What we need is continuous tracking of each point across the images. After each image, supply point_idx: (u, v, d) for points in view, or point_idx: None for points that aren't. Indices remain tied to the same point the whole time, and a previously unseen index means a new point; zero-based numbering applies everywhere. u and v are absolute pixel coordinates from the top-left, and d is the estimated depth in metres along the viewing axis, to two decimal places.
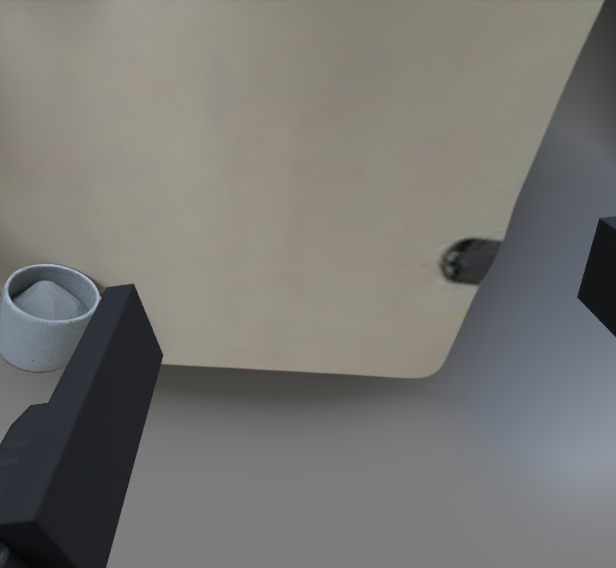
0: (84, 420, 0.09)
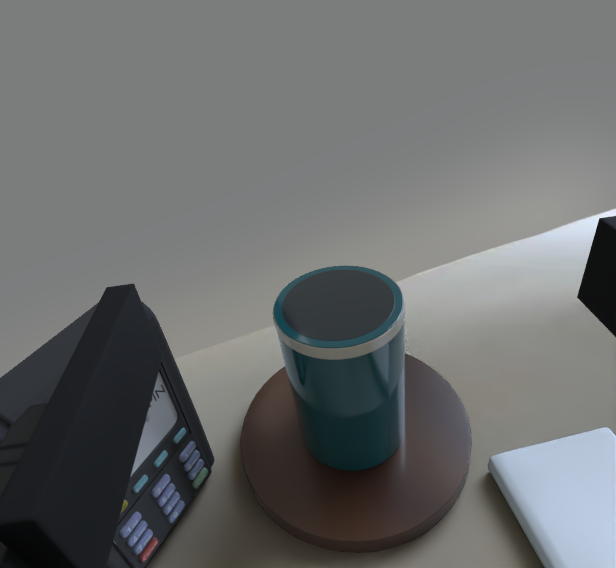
0: (84, 420, 0.09)
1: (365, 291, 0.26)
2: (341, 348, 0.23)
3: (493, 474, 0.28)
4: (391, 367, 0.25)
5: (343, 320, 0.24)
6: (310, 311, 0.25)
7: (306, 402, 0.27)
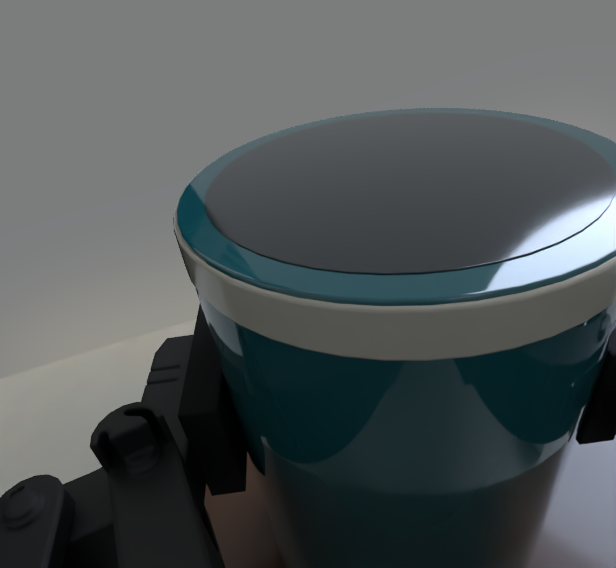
0: None
1: (481, 143, 0.08)
2: (445, 308, 0.05)
3: None
4: (588, 394, 0.07)
5: (427, 212, 0.06)
6: (300, 194, 0.07)
7: (282, 495, 0.08)
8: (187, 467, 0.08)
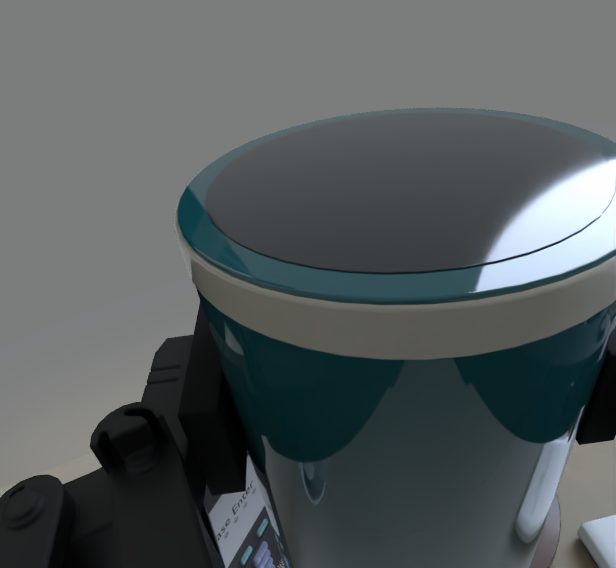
0: None
1: (481, 143, 0.08)
2: (446, 307, 0.05)
3: (585, 542, 0.28)
4: (588, 393, 0.07)
5: (427, 211, 0.06)
6: (300, 192, 0.07)
7: (283, 494, 0.08)
8: (187, 467, 0.08)
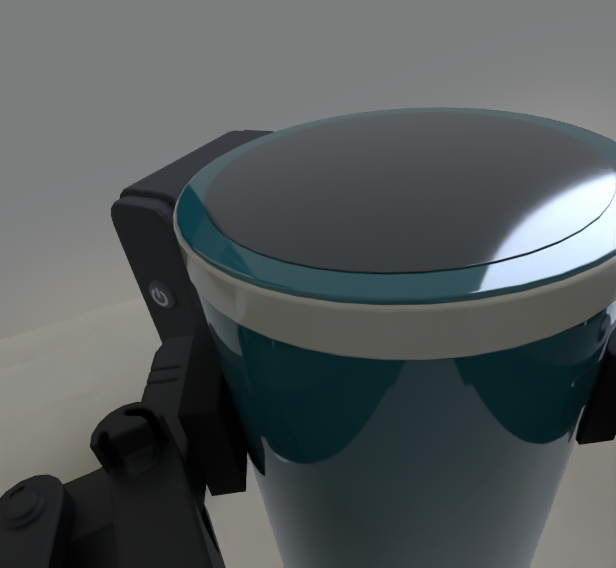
0: None
1: (481, 142, 0.08)
2: (445, 307, 0.05)
3: None
4: (588, 393, 0.07)
5: (427, 211, 0.06)
6: (300, 193, 0.07)
7: (283, 494, 0.08)
8: (187, 467, 0.08)
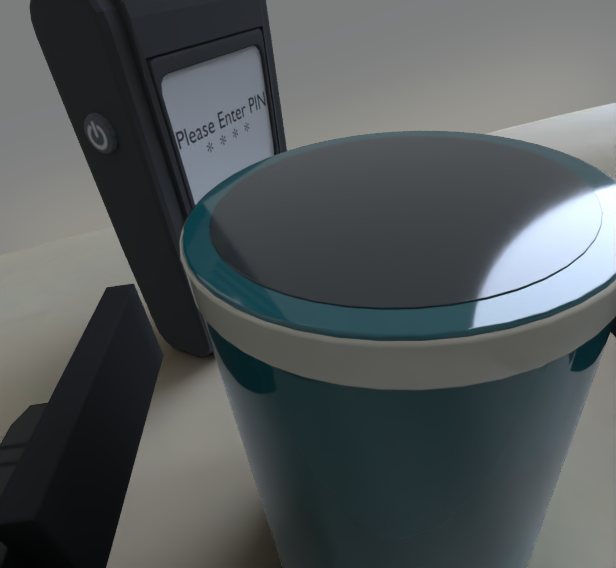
0: (84, 420, 0.09)
1: (475, 170, 0.08)
2: (438, 342, 0.05)
3: None
4: (577, 415, 0.07)
5: (423, 243, 0.07)
6: (301, 221, 0.08)
7: (284, 509, 0.09)
8: None
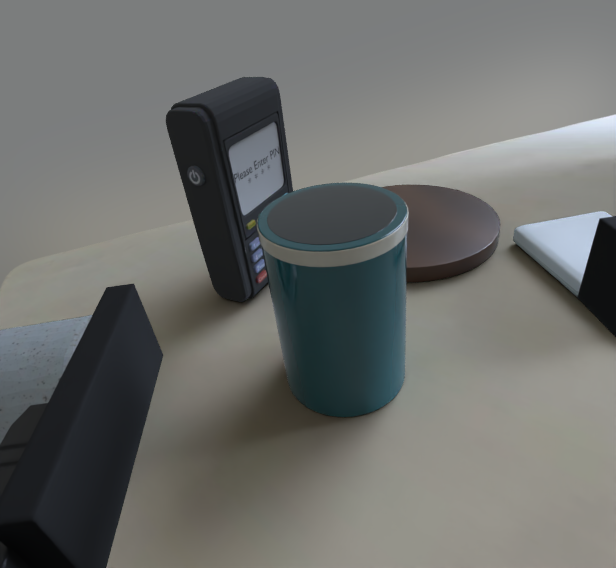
0: (84, 420, 0.09)
1: (363, 202, 0.23)
2: (334, 252, 0.19)
3: (517, 240, 0.37)
4: (391, 285, 0.22)
5: (337, 227, 0.21)
6: (299, 221, 0.22)
7: (292, 330, 0.23)
8: None
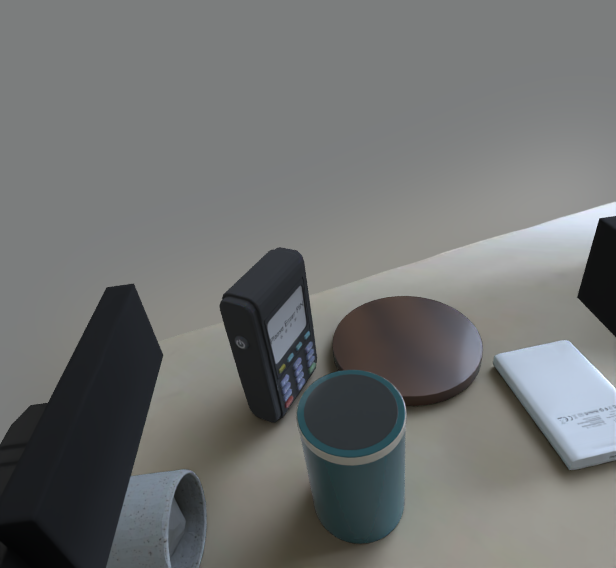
0: (84, 420, 0.09)
1: (373, 399, 0.31)
2: (354, 458, 0.28)
3: (496, 366, 0.46)
4: (394, 466, 0.30)
5: (355, 429, 0.29)
6: (327, 417, 0.30)
7: (321, 490, 0.32)
8: None
